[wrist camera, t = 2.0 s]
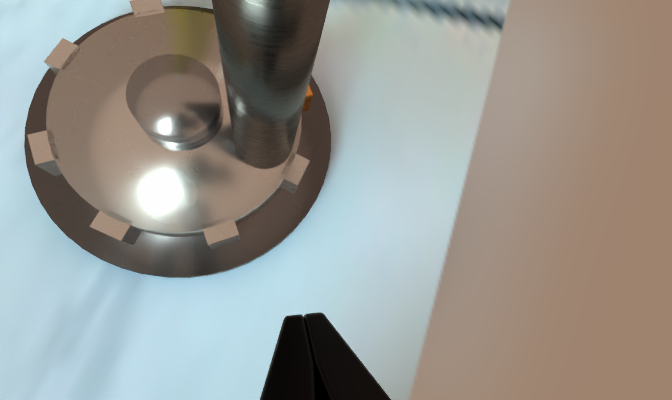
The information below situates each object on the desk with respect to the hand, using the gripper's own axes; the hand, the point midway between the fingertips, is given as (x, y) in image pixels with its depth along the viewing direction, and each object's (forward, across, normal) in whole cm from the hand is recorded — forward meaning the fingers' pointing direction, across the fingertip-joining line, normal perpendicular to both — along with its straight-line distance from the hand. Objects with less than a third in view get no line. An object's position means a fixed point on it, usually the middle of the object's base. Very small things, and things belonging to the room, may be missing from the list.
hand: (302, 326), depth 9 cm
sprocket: (+11, +4, 0) cm, 12 cm away
